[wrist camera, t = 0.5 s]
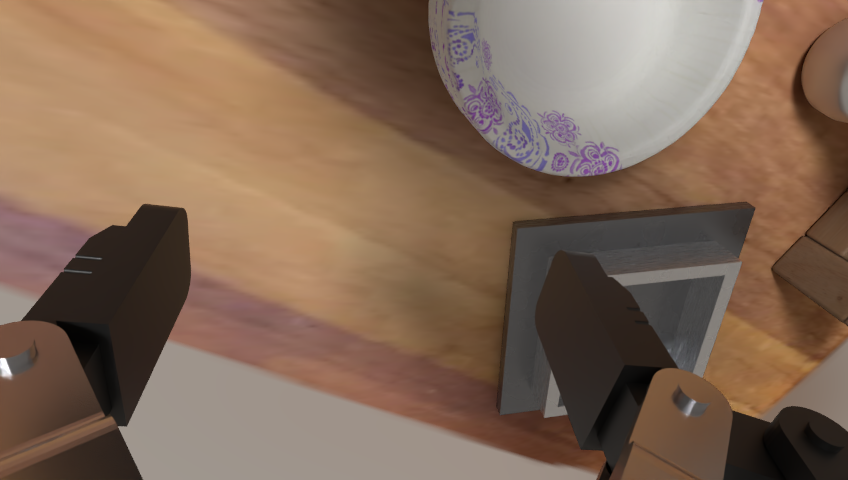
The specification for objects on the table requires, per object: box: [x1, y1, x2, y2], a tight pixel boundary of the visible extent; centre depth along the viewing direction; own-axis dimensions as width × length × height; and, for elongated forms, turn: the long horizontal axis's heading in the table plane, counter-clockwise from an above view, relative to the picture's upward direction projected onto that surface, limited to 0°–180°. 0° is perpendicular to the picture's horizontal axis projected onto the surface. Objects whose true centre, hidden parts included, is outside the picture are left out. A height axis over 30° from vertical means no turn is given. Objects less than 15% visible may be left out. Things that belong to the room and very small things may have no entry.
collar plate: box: [497, 202, 755, 418], centre depth 41 cm, size 18×18×4 cm
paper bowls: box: [428, 0, 763, 177], centre depth 27 cm, size 15×15×8 cm
